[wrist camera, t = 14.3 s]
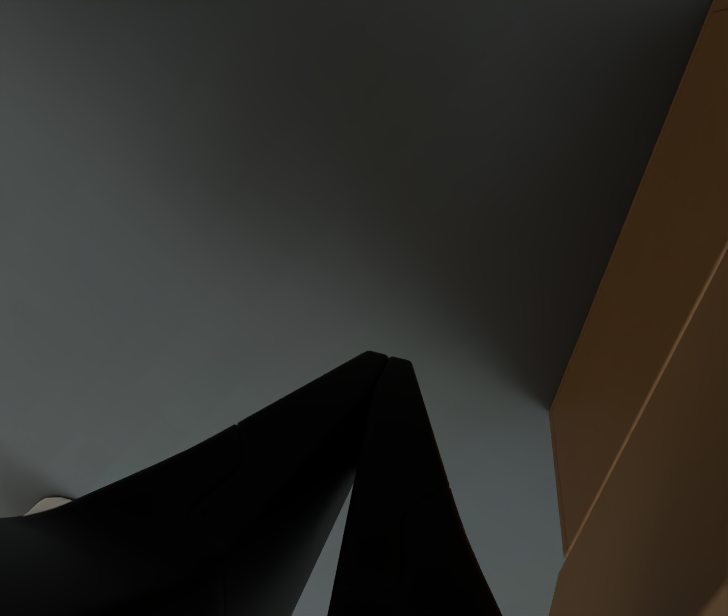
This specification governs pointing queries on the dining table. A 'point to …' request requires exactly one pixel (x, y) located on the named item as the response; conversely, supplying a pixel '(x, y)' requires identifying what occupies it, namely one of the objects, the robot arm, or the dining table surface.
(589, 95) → the dining table surface
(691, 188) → the cardboard box
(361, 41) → the dining table surface
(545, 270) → the dining table surface
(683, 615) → the flap
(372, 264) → the dining table surface
